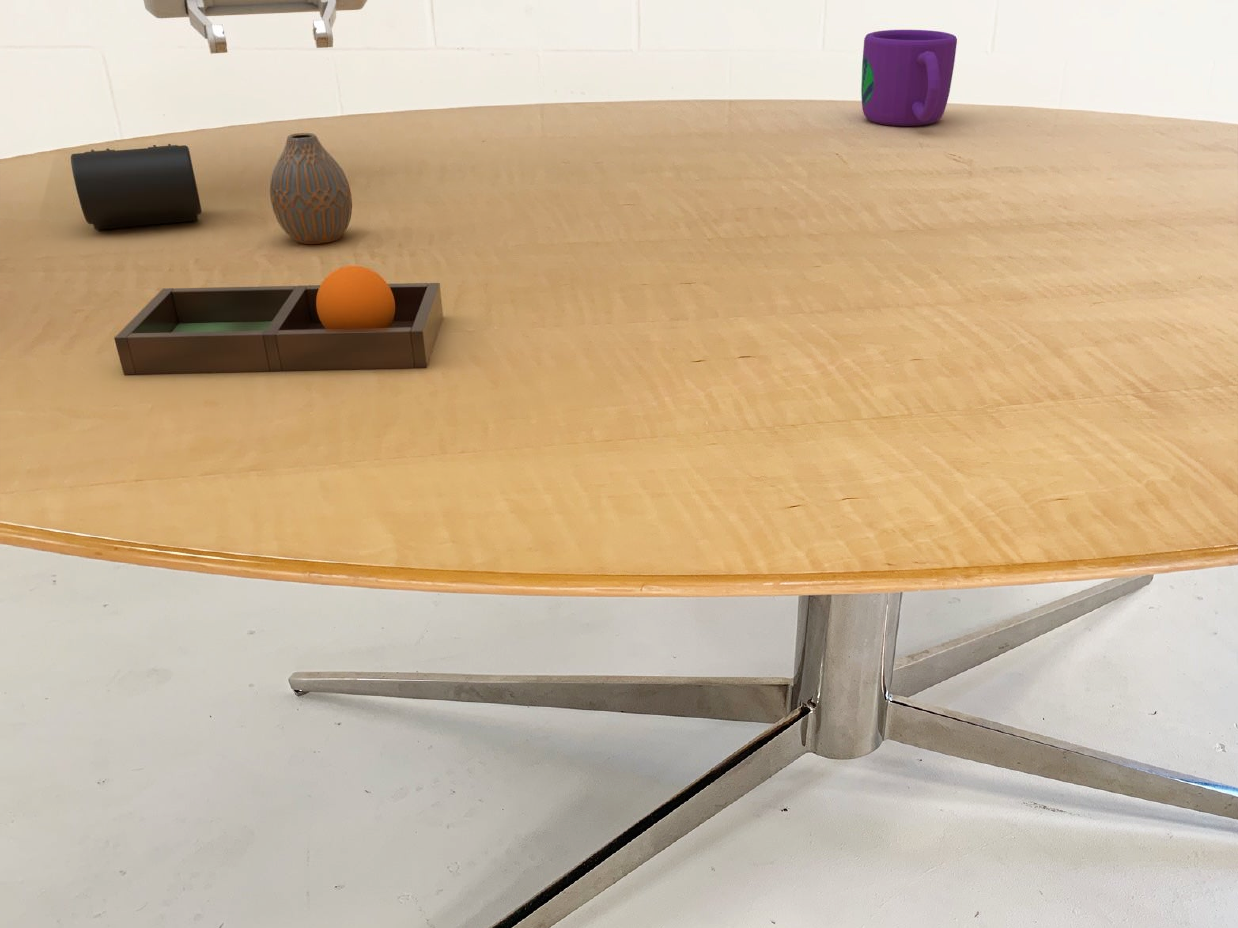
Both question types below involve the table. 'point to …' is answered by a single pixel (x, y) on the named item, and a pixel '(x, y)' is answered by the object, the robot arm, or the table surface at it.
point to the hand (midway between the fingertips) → (272, 46)
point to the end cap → (136, 186)
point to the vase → (310, 192)
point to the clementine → (355, 300)
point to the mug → (907, 76)
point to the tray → (273, 332)
